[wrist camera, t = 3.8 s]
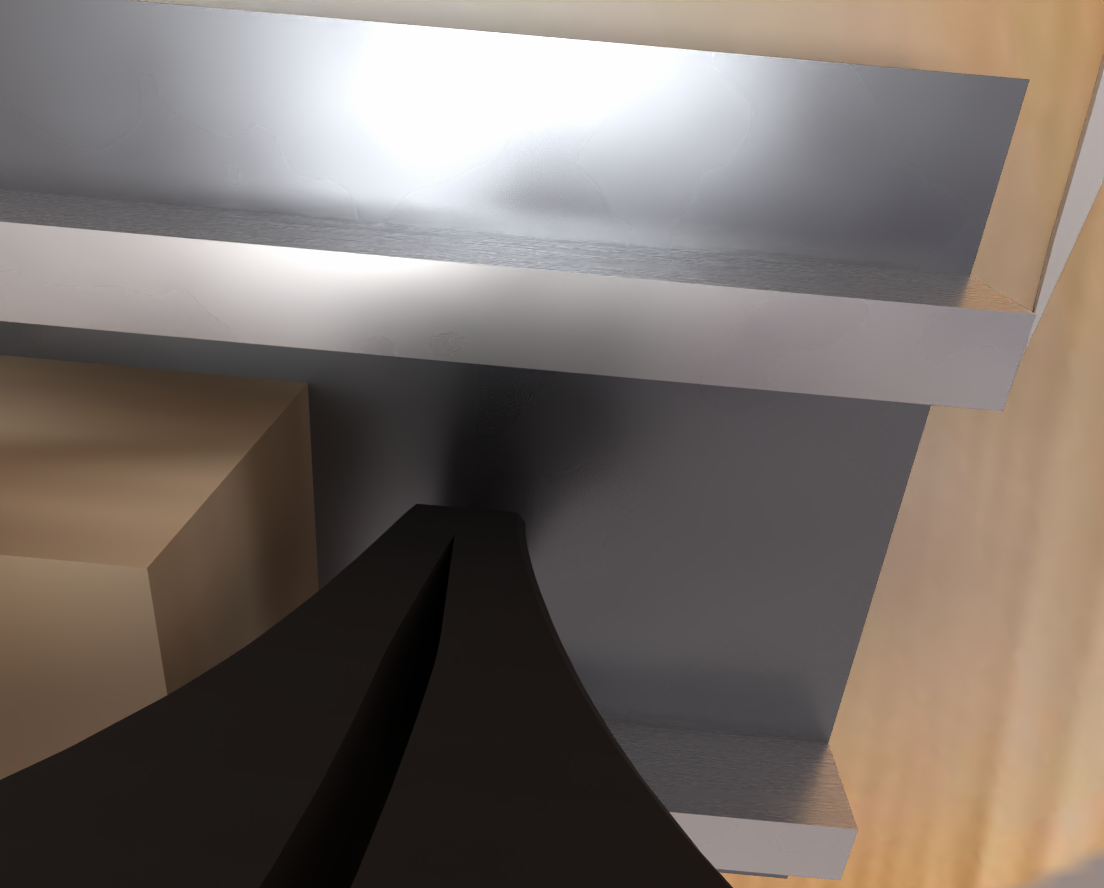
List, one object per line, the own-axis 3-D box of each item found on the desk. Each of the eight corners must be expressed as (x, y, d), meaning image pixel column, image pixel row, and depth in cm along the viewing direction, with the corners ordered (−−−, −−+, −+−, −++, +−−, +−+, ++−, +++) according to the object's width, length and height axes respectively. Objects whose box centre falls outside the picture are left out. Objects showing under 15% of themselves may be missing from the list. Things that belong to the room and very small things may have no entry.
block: (307, 382, 10) (146, 568, 6) (321, 642, 12) (201, 904, 8) (-18, 353, 10) (-361, 520, 6) (44, 616, 12) (-201, 867, 8)
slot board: (920, 74, 11) (1115, 83, 7) (753, 740, 16) (808, 970, 12) (-265, -32, 11) (-765, -82, 7) (-52, 665, 16) (-268, 869, 12)
